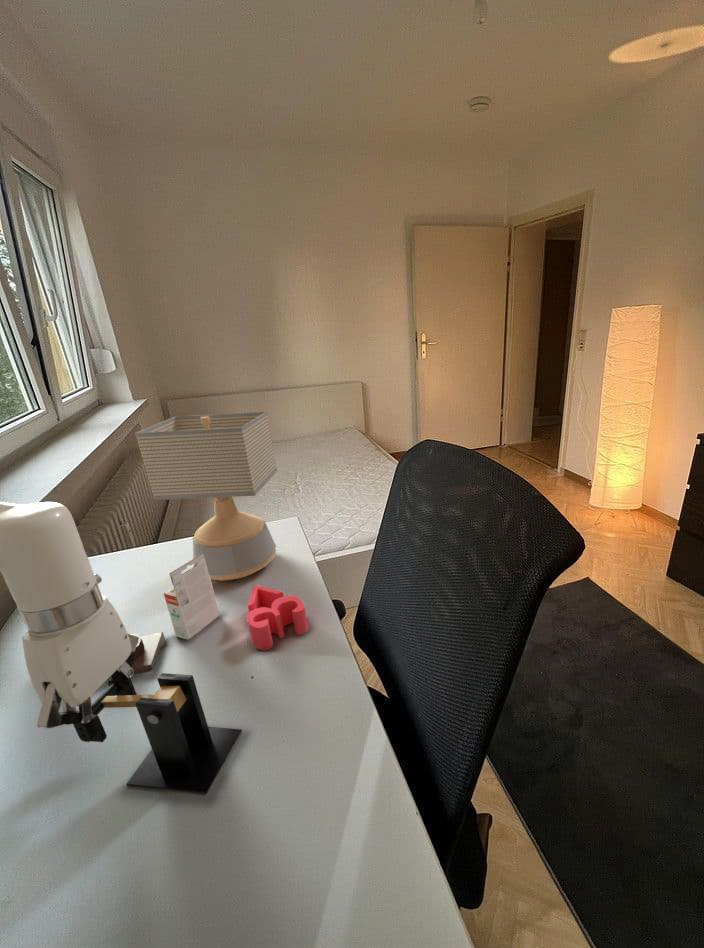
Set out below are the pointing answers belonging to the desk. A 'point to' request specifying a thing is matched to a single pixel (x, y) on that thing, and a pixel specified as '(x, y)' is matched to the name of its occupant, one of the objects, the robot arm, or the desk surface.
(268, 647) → the letters
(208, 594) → the ink box
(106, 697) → the switch lever
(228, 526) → the desk lamp
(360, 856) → the desk surface
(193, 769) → the switch bracket
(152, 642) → the button block
